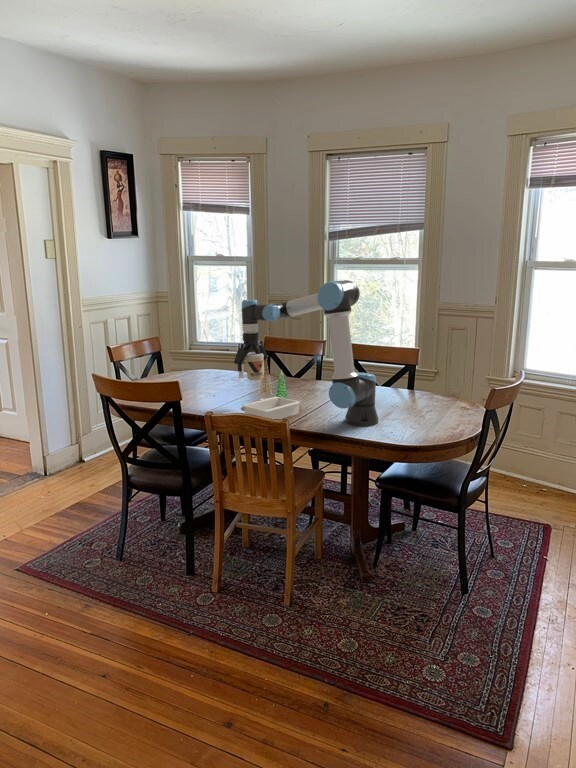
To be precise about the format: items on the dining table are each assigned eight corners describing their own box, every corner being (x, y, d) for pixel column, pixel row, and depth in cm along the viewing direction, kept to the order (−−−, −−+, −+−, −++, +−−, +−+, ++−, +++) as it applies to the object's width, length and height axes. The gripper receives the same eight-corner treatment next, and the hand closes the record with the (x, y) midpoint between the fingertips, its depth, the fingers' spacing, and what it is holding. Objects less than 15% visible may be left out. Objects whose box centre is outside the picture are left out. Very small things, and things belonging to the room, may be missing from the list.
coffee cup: (248, 381, 276) (246, 356, 273) (244, 377, 285) (242, 353, 282) (266, 379, 278) (265, 354, 275) (262, 375, 287) (261, 351, 284)
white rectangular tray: (276, 408, 285) (276, 396, 284) (301, 414, 274) (301, 402, 272) (242, 417, 269) (241, 405, 267) (267, 424, 257) (267, 411, 256)
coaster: (267, 409, 284) (267, 407, 283) (251, 413, 276) (251, 412, 276) (252, 405, 291) (252, 404, 291) (236, 409, 283) (236, 408, 283)
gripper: (263, 329, 286) (264, 371, 291) (225, 334, 269) (227, 378, 273) (274, 330, 281) (275, 372, 286) (236, 335, 264) (237, 380, 268)
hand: (251, 375), depth 279 cm, fingers open, 13 cm apart
